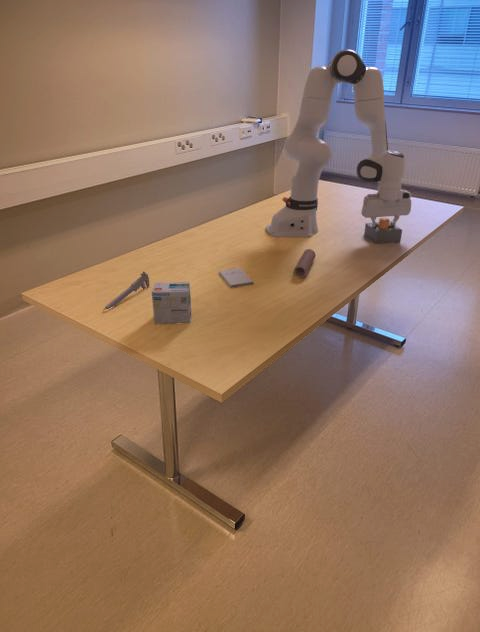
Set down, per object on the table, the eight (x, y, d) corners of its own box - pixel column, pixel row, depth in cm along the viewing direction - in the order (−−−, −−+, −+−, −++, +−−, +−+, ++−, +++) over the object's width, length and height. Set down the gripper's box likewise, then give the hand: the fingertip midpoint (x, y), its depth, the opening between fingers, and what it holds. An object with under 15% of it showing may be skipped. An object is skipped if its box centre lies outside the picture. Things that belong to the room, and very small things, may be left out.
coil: (307, 268, 173) (317, 249, 188) (294, 265, 174) (304, 247, 189) (305, 280, 175) (314, 261, 190) (292, 277, 176) (302, 258, 191)
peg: (379, 240, 208) (382, 221, 204) (375, 236, 212) (377, 218, 208) (388, 239, 209) (391, 220, 205) (383, 236, 213) (386, 217, 209)
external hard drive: (230, 289, 169) (218, 274, 179) (253, 285, 171) (240, 271, 181) (230, 285, 168) (218, 270, 178) (253, 281, 170) (240, 267, 181)
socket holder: (375, 243, 205) (377, 231, 202) (364, 234, 214) (365, 223, 212) (400, 241, 207) (402, 230, 204) (388, 232, 216) (389, 221, 214)
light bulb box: (191, 313, 153) (190, 281, 148) (190, 324, 147) (189, 291, 142) (156, 313, 153) (153, 281, 147) (154, 324, 147) (151, 291, 142)
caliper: (147, 287, 169) (145, 269, 166) (149, 288, 169) (148, 270, 165) (102, 312, 154) (99, 293, 150) (105, 313, 153) (102, 294, 150)
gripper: (367, 196, 197) (363, 230, 203) (415, 193, 200) (409, 227, 207) (361, 192, 202) (357, 225, 209) (407, 189, 206) (402, 222, 213)
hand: (383, 226), depth 208 cm, fingers open, 7 cm apart
